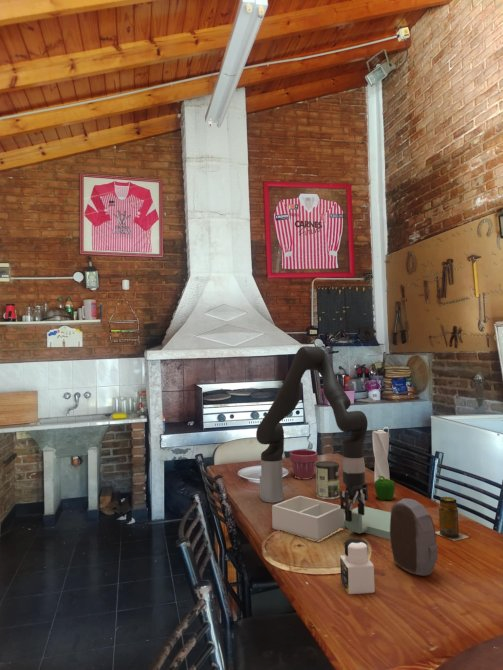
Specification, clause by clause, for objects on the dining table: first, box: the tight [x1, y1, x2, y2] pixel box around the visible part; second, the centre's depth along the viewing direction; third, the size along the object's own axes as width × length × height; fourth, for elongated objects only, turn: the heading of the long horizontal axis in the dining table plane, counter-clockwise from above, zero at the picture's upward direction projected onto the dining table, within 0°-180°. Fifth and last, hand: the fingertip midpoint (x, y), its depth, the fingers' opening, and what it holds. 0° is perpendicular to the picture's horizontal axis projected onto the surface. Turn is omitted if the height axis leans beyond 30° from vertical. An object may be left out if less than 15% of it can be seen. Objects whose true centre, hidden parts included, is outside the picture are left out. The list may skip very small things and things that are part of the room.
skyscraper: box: [372, 426, 391, 482], centre depth 215 cm, size 8×8×28 cm
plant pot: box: [289, 449, 318, 478], centre depth 235 cm, size 14×14×13 cm
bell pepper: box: [374, 476, 396, 501], centre depth 197 cm, size 8×8×10 cm
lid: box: [344, 505, 391, 541], centre depth 165 cm, size 22×23×8 cm
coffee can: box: [315, 460, 340, 500], centre depth 203 cm, size 10×10×14 cm
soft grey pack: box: [390, 497, 438, 577], centre depth 132 cm, size 15×8×20 cm, turn 23°
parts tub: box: [271, 495, 346, 541], centre depth 165 cm, size 20×16×8 cm
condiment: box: [435, 496, 469, 542], centre depth 157 cm, size 7×8×12 cm
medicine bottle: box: [339, 538, 375, 595], centre depth 123 cm, size 7×7×12 cm
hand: (355, 517), depth 158 cm, fingers open, 7 cm apart
